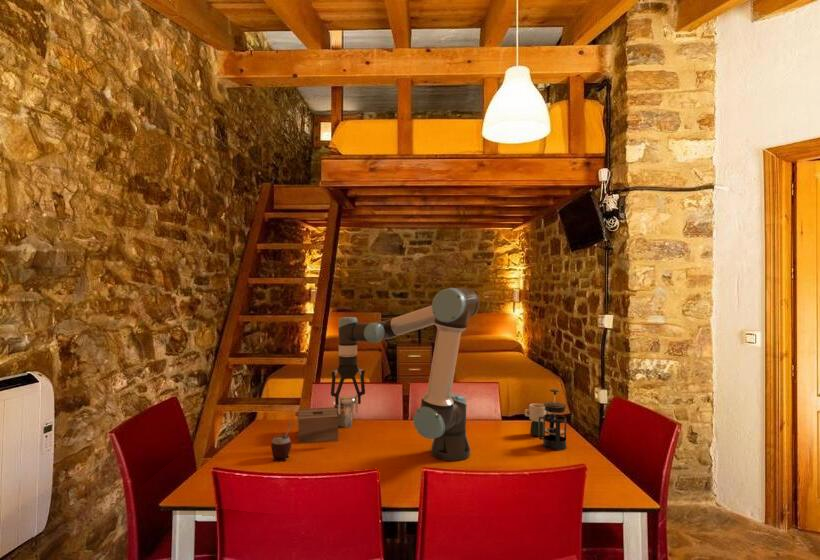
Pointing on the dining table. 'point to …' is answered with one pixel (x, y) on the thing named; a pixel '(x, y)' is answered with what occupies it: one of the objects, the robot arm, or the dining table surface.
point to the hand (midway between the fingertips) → (348, 412)
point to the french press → (554, 438)
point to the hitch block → (317, 425)
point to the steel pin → (347, 409)
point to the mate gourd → (281, 446)
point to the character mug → (536, 417)
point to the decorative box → (341, 414)
